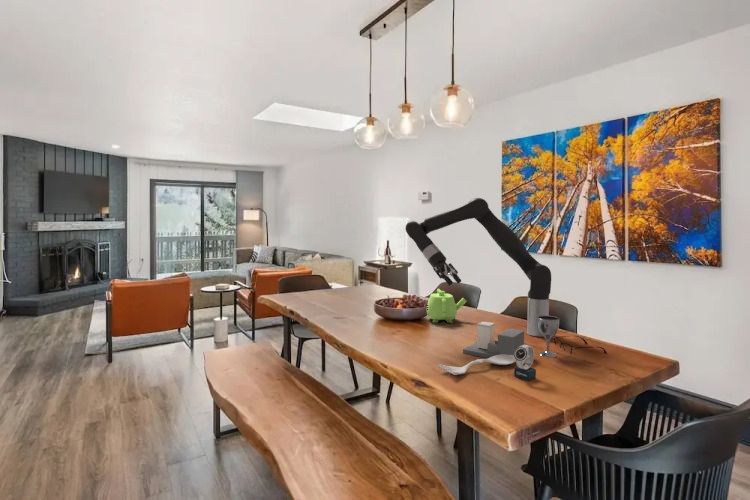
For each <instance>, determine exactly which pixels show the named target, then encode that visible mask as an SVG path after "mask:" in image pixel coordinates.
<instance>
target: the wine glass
mask: <svg viewBox="0 0 750 500" xmlns="http://www.w3.org/2000/svg"><path fill="white" fill-rule="evenodd" d="M538 327H539V331H540V332H541V334H542V335H543V337H544V339H545V343H546V350H545V351H539V352H538V353H537V354H538V355H539V356H541V357H543V358H557V357H558V354H557V353H556V352H552V351H550V341H551V340H552V338H553V337H555V335H556V334H557V333H558V331H559V327H560V317H559V316H554V315H549V316H548V315H542V316H538Z"/></svg>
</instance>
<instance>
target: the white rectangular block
mask: <svg viewBox="0 0 750 500" xmlns="http://www.w3.org/2000/svg"><path fill="white" fill-rule="evenodd" d="M495 326H496V323H495V322H489V321H481V322H478V323H477V342H478V348H483V349H488V344H489V343H490V344H494V340H495Z"/></svg>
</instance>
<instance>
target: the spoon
mask: <svg viewBox="0 0 750 500" xmlns="http://www.w3.org/2000/svg"><path fill="white" fill-rule="evenodd" d="M484 363H490V364H492V365H496V366H507V365H511V364H514V363H516V362H515V358H514V355H506V354H500V355H495V356H492V357H490V358H481V359H479V358H477V359H476V360H473V361H470V362H469V363H466V364H465V365H464V366H450V365H449V366H448V365H445V364H438V368H441V369H442V370H443V371H445V372H447V373H449V374H452V375H453V376H458V375H464V374H466V372H467V370H468V369H469V368H470V367H471V366H473V365H476V364H484Z"/></svg>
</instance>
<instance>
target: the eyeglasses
mask: <svg viewBox="0 0 750 500" xmlns="http://www.w3.org/2000/svg"><path fill="white" fill-rule="evenodd" d="M567 337H569V335H564V336H560V338H567ZM575 337H578V338H580V339H581V340H582V341H583V342H584V344H586V345H587V344H588V342H587V341H586V339H585V338H583V337H581V336H578V335H575ZM552 338H553V340H554V345H555V346H557V342H556V339H557V340H558V341H559V342H560V345H559V346H560V347H559V348H560V349H561V348H563V351H566V349H565V345H568V346H569V347H570V349H571V351H570V352H569V353H570V354H571V355H572V353H573V350H574V349H586V348H587V349H589V348H592V346H584V347H583V346H582V347H581V346H580V347H578V346H577V347H573V346H572V345H571V344H570V343H567V342H562V341H561V339H560V338H559V336H553V337H552ZM564 344H565V345H564ZM598 348H600V349H602V350H603V352H604V354H607V351H606V349H605V348H604V347H601V346H598Z"/></svg>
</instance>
